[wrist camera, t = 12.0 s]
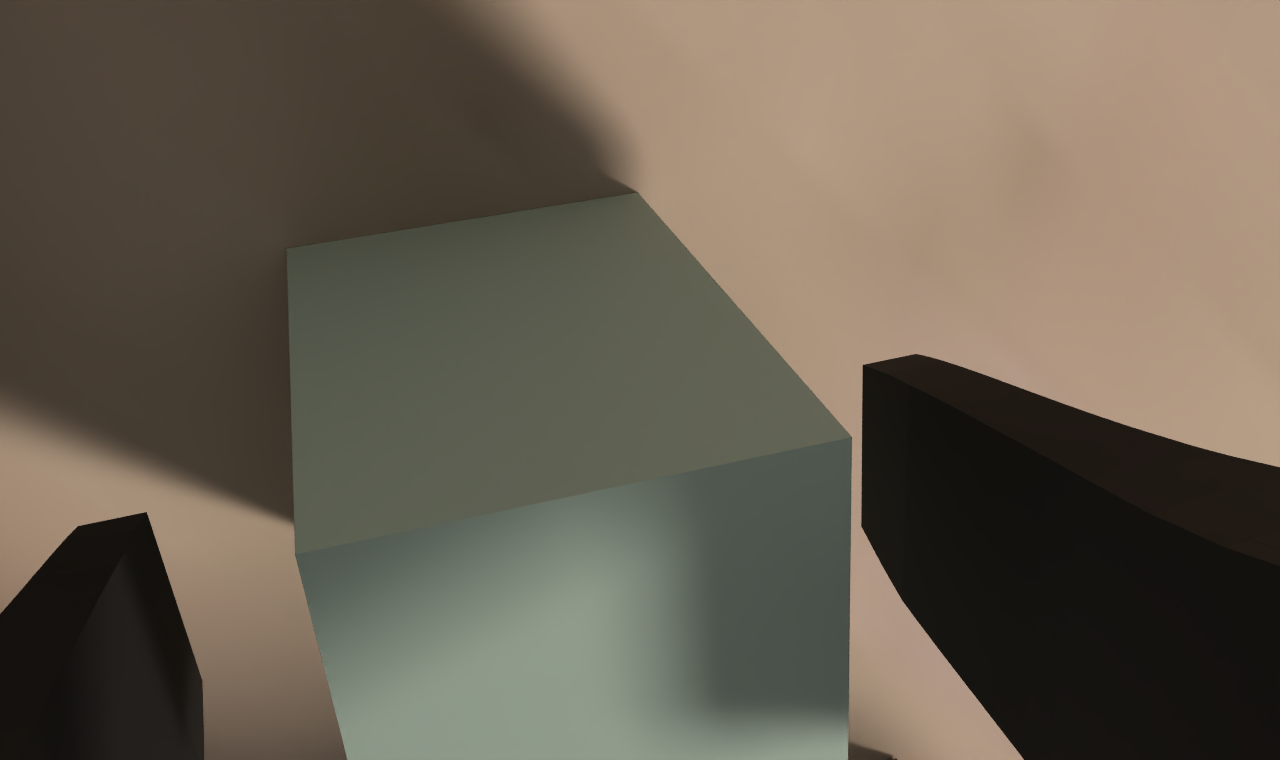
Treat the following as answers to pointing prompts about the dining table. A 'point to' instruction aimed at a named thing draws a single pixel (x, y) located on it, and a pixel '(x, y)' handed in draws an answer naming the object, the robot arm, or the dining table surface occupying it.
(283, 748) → the dining table surface
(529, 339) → the sage block
